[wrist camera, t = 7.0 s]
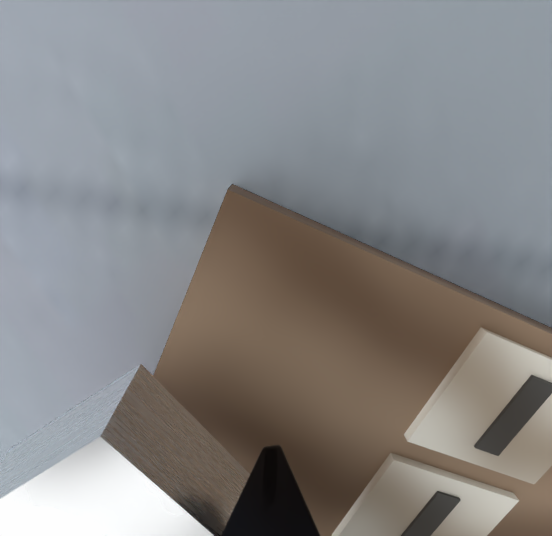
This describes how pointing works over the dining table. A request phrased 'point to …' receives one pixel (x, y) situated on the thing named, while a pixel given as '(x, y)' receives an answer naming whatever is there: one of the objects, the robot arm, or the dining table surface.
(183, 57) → the dining table surface
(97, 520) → the swing bar
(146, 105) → the dining table surface
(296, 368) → the label board
